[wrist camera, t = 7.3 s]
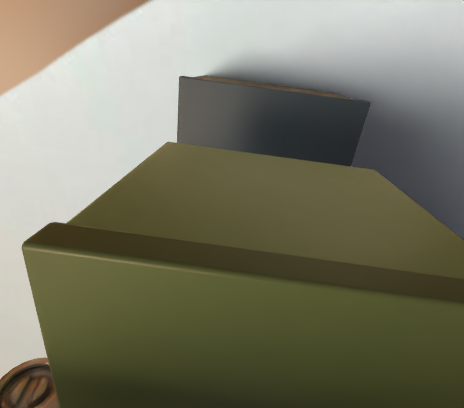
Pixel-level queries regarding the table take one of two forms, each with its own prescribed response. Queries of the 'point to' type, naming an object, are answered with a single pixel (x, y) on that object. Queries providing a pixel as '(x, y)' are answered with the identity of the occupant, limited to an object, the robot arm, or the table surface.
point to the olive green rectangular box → (250, 289)
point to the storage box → (269, 119)
